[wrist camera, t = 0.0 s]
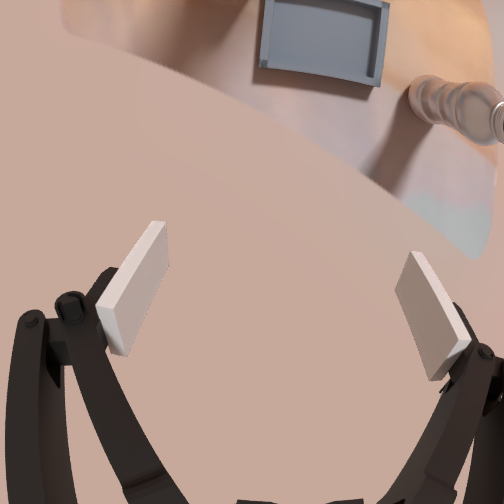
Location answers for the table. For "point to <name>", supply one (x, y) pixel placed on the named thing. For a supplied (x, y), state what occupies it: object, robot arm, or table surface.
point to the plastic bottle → (460, 107)
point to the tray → (326, 38)
